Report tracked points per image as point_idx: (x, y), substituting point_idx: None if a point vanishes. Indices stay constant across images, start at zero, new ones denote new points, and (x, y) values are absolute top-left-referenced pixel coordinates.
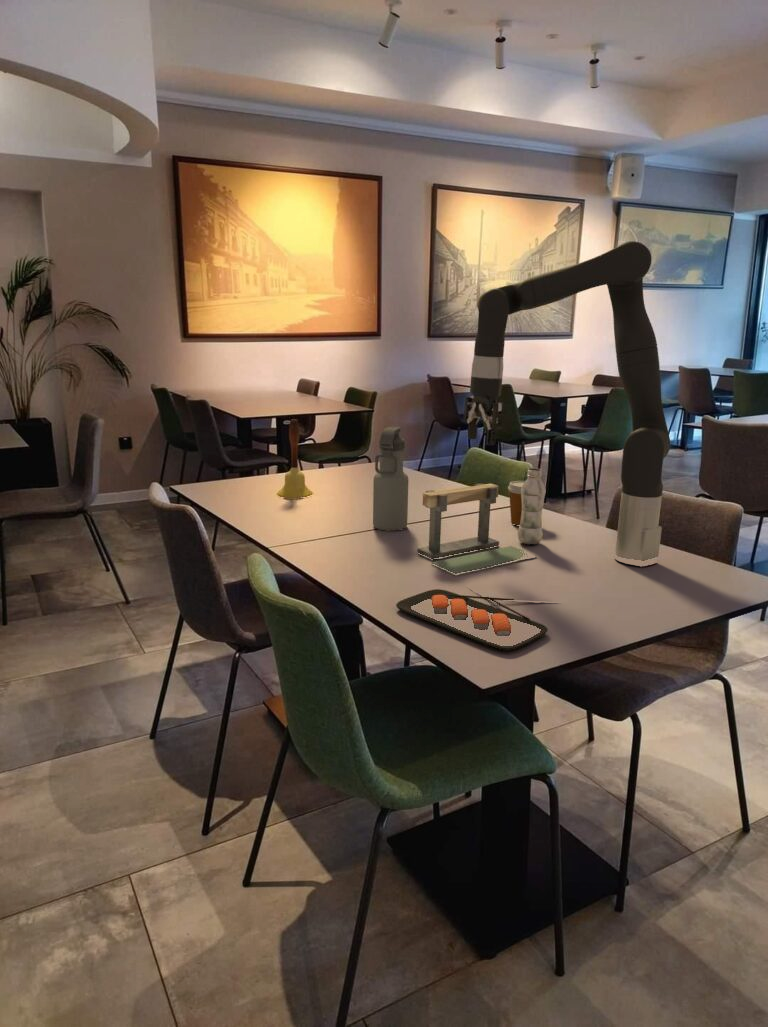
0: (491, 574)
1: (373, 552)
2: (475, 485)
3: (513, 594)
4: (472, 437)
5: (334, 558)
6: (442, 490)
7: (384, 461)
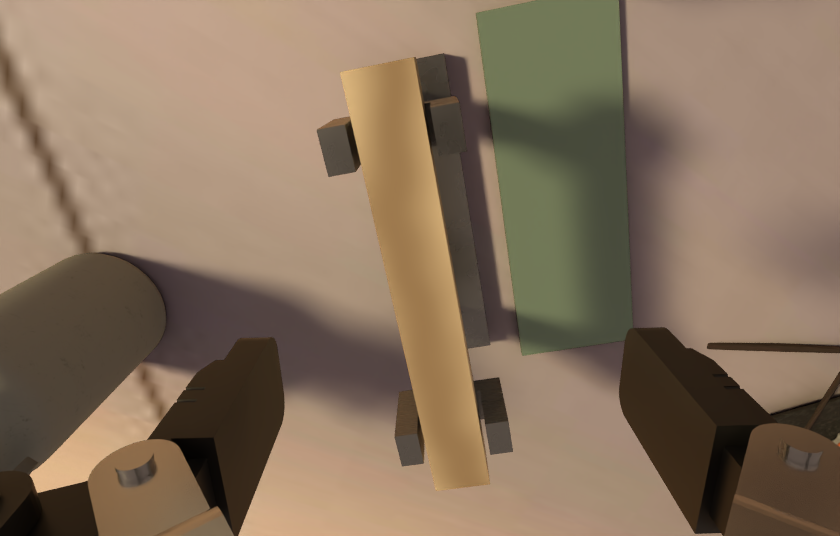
0: (672, 238)
1: (361, 439)
2: (332, 174)
3: (833, 267)
4: (278, 387)
5: (377, 527)
6: (415, 400)
7: None
